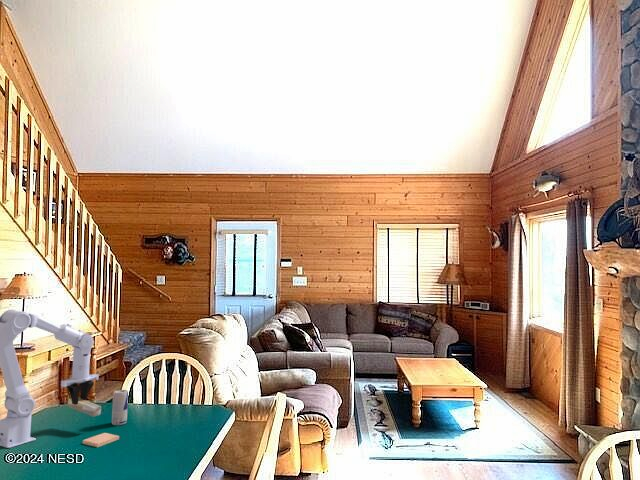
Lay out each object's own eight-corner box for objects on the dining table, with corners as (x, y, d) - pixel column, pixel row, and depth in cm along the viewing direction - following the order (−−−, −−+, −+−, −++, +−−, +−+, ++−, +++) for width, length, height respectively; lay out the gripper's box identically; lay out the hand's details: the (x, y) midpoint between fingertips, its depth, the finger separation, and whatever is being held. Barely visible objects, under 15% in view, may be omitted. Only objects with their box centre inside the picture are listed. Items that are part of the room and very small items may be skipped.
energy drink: (129, 421, 191) (130, 390, 192) (122, 425, 185) (124, 393, 186) (116, 420, 191) (117, 389, 192) (108, 425, 186) (110, 392, 187)
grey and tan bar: (93, 416, 177) (94, 408, 177) (67, 406, 183) (68, 398, 183) (100, 414, 180) (101, 406, 180) (74, 404, 186) (75, 396, 186)
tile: (82, 445, 166) (97, 448, 163) (82, 440, 166) (97, 443, 163) (104, 437, 174) (118, 440, 171) (104, 432, 174) (119, 436, 171)
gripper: (71, 370, 176) (68, 409, 175) (104, 363, 189) (103, 399, 188) (57, 368, 179) (55, 406, 178) (92, 361, 192) (90, 397, 191)
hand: (79, 402), depth 183 cm, fingers closed on grey and tan bar, 3 cm apart
